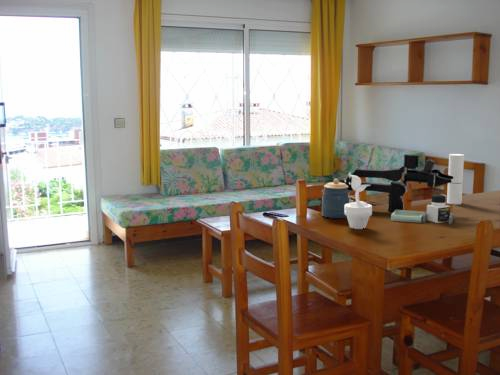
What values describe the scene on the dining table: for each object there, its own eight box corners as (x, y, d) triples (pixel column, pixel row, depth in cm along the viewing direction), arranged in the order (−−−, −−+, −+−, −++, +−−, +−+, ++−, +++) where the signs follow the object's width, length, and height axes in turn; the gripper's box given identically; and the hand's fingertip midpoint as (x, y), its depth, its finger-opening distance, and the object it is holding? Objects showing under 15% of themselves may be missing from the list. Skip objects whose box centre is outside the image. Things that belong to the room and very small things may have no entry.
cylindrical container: (462, 202, 307) (464, 154, 303) (460, 204, 300) (463, 155, 296) (447, 201, 310) (450, 153, 306) (446, 203, 303) (448, 155, 299)
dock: (422, 222, 262) (422, 215, 262) (425, 217, 272) (425, 210, 272) (451, 224, 258) (451, 217, 257) (452, 219, 268) (453, 212, 267)
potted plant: (338, 226, 256) (339, 168, 252) (361, 223, 260) (362, 167, 256) (354, 232, 244) (356, 172, 240) (378, 229, 249) (380, 170, 245)
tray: (390, 220, 266) (391, 215, 266) (395, 214, 278) (395, 209, 277) (420, 222, 261) (421, 217, 261) (424, 216, 273) (424, 211, 273)
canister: (322, 219, 270) (322, 180, 267) (320, 213, 283) (321, 176, 280) (351, 219, 269) (352, 180, 267) (348, 213, 282) (348, 176, 279)
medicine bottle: (437, 223, 260) (438, 196, 258) (425, 220, 266) (427, 193, 264) (449, 221, 263) (451, 195, 261) (437, 218, 269) (439, 192, 267)
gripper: (416, 162, 270) (452, 165, 264) (421, 156, 287) (455, 159, 281) (414, 186, 273) (449, 189, 267) (419, 179, 289) (453, 182, 283)
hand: (452, 179), depth 274 cm, fingers open, 9 cm apart
